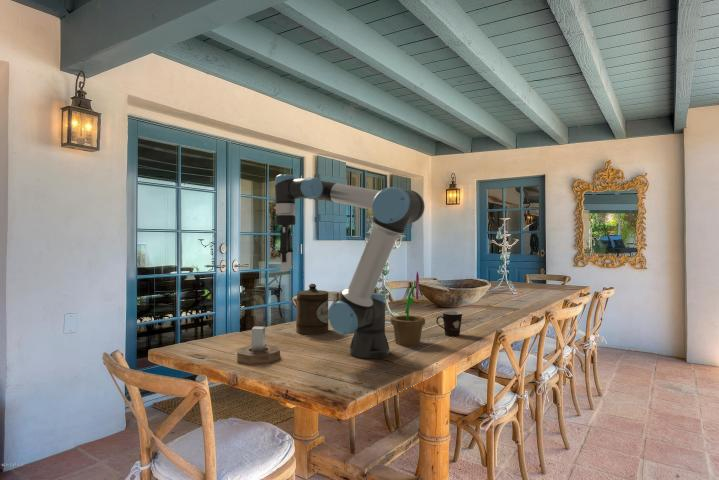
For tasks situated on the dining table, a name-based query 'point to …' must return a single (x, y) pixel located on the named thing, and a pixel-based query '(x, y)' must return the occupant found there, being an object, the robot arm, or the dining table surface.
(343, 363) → the dining table surface
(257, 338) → the light grey rectangular block
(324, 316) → the wooden container
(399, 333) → the flowerpot
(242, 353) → the brown wooden ring
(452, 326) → the coffee mug
